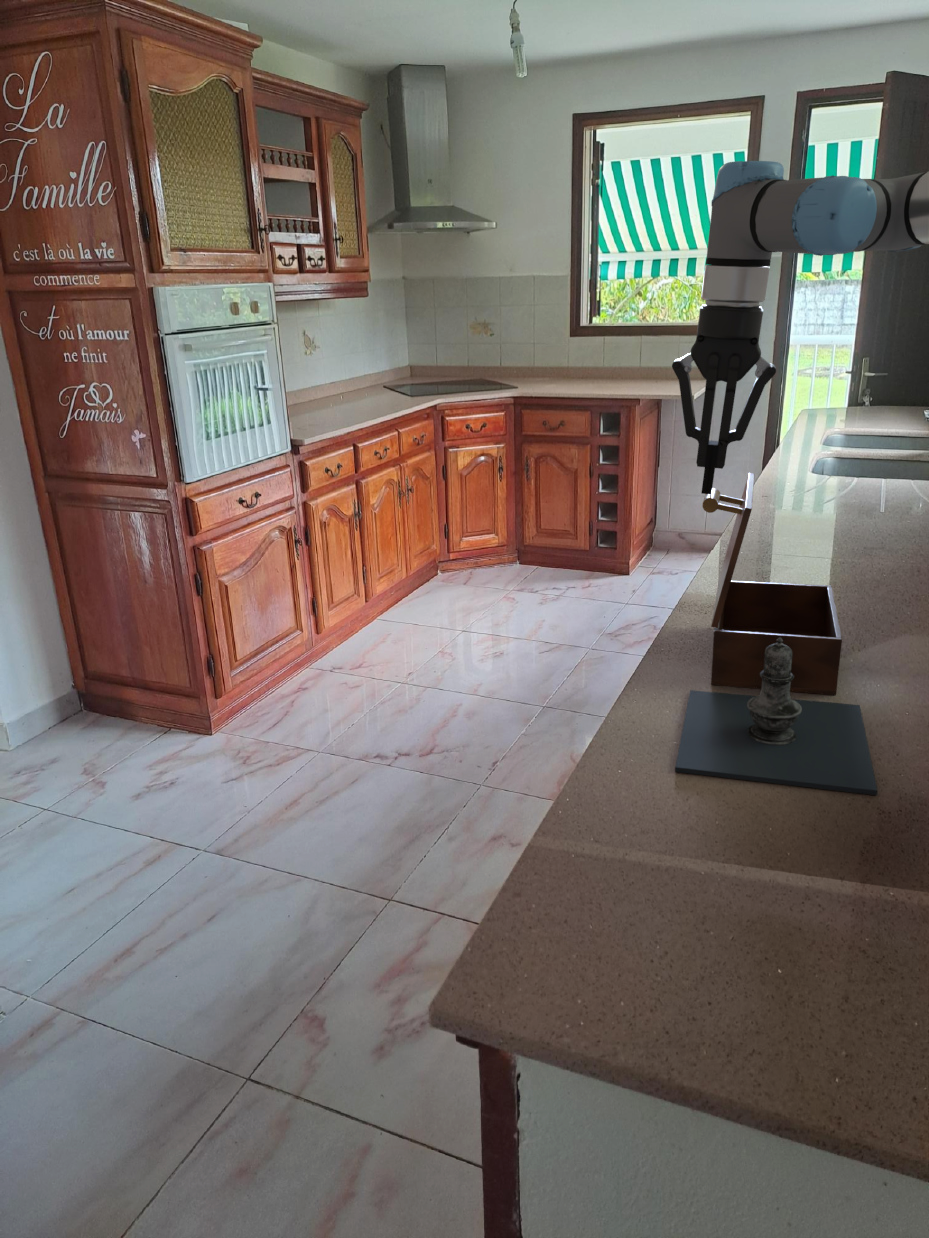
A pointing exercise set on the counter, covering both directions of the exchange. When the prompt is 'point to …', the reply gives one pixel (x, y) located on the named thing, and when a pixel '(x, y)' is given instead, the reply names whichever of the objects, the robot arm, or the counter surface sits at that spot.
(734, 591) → the bread box
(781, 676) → the salt shaker
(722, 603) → the bread box lid
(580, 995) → the counter surface
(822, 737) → the mat
